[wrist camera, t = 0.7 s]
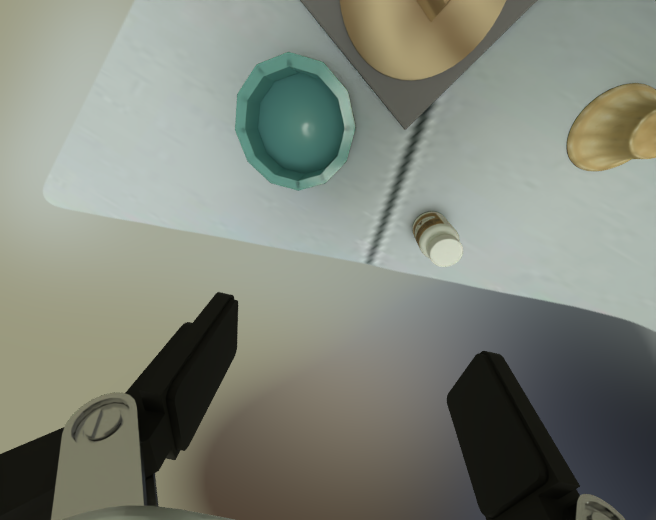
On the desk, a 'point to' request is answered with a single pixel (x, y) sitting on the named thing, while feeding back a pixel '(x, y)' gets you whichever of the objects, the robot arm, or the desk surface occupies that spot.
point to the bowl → (294, 121)
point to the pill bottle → (437, 239)
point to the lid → (417, 33)
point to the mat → (405, 94)
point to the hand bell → (615, 129)
